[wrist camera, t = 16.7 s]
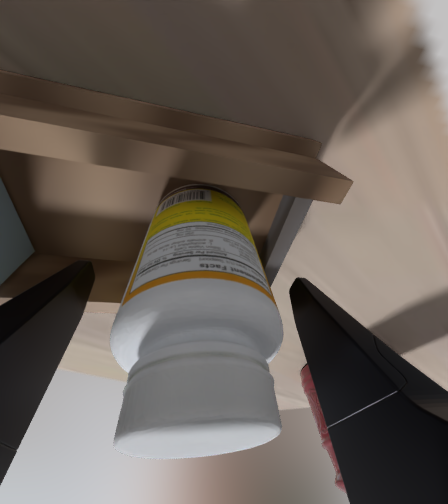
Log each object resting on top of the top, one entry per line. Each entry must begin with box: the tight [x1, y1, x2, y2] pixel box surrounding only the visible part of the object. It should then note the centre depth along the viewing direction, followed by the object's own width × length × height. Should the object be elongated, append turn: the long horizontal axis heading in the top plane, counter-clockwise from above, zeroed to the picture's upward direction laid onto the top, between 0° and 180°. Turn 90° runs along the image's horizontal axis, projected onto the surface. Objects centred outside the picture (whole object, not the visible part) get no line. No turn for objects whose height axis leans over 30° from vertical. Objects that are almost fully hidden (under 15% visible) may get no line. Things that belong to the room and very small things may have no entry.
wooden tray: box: [0, 70, 354, 313], centre depth 10 cm, size 28×11×5 cm, turn 79°
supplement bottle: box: [110, 184, 283, 459], centre depth 9 cm, size 6×6×10 cm
